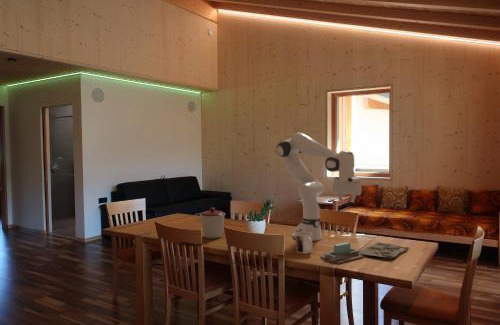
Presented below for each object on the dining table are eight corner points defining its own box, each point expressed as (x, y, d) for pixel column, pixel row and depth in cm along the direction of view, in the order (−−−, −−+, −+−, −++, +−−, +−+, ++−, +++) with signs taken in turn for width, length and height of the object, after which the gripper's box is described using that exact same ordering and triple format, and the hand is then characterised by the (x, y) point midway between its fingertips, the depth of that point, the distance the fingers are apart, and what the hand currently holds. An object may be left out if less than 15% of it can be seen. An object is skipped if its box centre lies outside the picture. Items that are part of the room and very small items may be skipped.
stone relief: (409, 250, 240) (377, 244, 252) (410, 245, 239) (378, 239, 252) (390, 263, 215) (355, 256, 228) (390, 258, 215) (356, 251, 227)
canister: (200, 240, 268) (199, 210, 266) (199, 234, 285) (199, 205, 284) (226, 239, 270) (226, 209, 269) (224, 233, 288) (224, 204, 287)
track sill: (320, 258, 224) (320, 252, 224) (345, 252, 235) (345, 246, 235) (338, 264, 212) (338, 257, 212) (363, 257, 223) (363, 251, 223)
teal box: (334, 257, 222) (333, 244, 222) (346, 254, 228) (346, 242, 227) (337, 258, 220) (337, 245, 220) (350, 255, 225) (350, 243, 225)
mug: (314, 249, 242) (314, 231, 241) (312, 255, 230) (312, 236, 230) (297, 248, 245) (297, 231, 244) (294, 254, 233) (294, 235, 232)
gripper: (330, 176, 241) (330, 199, 242) (355, 179, 224) (355, 203, 225) (337, 176, 245) (337, 198, 246) (363, 179, 227) (363, 202, 228)
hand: (346, 201), depth 235 cm, fingers open, 8 cm apart
